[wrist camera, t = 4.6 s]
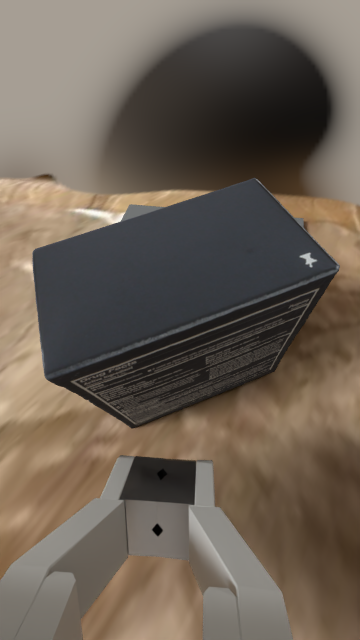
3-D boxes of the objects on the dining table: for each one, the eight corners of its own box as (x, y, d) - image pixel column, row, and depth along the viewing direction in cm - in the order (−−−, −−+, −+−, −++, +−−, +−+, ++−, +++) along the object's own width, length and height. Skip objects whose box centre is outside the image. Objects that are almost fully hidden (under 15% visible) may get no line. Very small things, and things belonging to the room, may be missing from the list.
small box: (235, 298, 21) (258, 167, 12) (278, 371, 18) (356, 270, 9) (107, 345, 20) (25, 240, 11) (129, 432, 17) (39, 388, 8)
